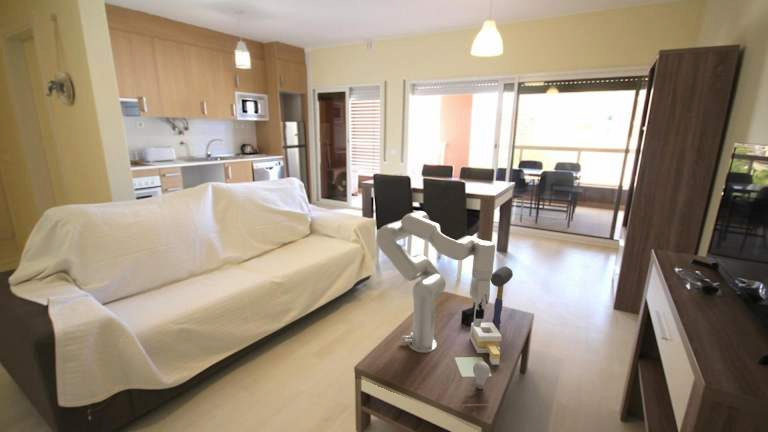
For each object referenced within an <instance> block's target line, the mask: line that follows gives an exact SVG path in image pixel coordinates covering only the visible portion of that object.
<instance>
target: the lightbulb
mask: <svg viewBox="0 0 768 432" xmlns="http://www.w3.org/2000/svg"><path fill="white" fill-rule="evenodd" d="M473 373H474V375H475V384H476V385H475V387H476V388H477V389H478V390H482V389H484V384H485V382H486V379H487V378H488V377H490V376H489V374H490V373H491V369H490V367H489V365H488V363H486V362H485V361H484V362H483V361H478V362H476V363H475V364H474V366H473Z"/></svg>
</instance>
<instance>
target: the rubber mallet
mask: <svg viewBox="0 0 768 432" xmlns="http://www.w3.org/2000/svg"><path fill="white" fill-rule="evenodd" d="M513 275H514V273H513V270H512V269H511V268H510V267H508V266H501V267H500V268H498V269H496V270H495V271H494V272H493V273H492V279H490V284H492V285H493V286H494V287H497V292H496V293H497V294H496V298H495V300H494V307H493V308H494V310H493V317H492V321H491V322H493V324H494V325H495V327H499V326H500V325H501V323H502V321H501V317H502V316H501V315H502V310H503V293H504V286H505V285H506V284H507V283H508V282H509V281H510V280H511V279H512V278H513Z"/></svg>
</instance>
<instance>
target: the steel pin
mask: <svg viewBox="0 0 768 432" xmlns="http://www.w3.org/2000/svg"><path fill="white" fill-rule="evenodd" d="M481 302H482V301H481ZM480 305H482V304H480ZM476 309H477V304H476V303H475V311H474V321H473V326H475V327H481V323H482V321H481V320H483V319H476V318H475V314H476Z"/></svg>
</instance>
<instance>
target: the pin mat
mask: <svg viewBox="0 0 768 432" xmlns="http://www.w3.org/2000/svg"><path fill="white" fill-rule="evenodd" d="M454 360H455V363H456V365H457V367H458V370H459V373H460V375H461V377H462V378H466V377H469V378H470V377H471V378H472V377H475V375H474V373H473V366H474V364H475V363H476V362H478V361H483V362H485V360H484V358H483V356H473V357H472V356H470V357H469V356H467V357H465V356H464V357H457V356H456V357H454ZM488 377H492V373H491V372H490V374H489V376H488ZM475 378H476V377H475Z"/></svg>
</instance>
